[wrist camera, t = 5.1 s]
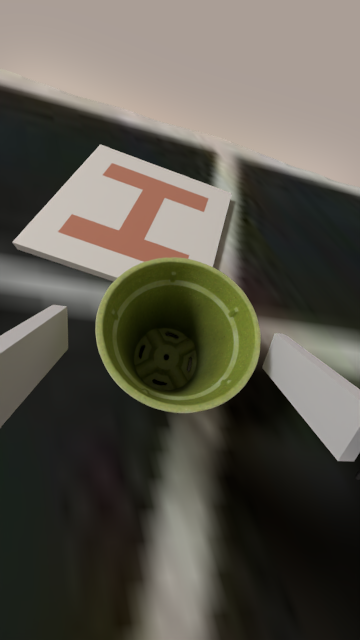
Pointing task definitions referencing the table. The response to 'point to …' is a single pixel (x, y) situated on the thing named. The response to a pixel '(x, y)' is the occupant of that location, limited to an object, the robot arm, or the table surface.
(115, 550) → the table surface
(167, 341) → the plant pot
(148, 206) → the letter board
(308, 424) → the robot arm
